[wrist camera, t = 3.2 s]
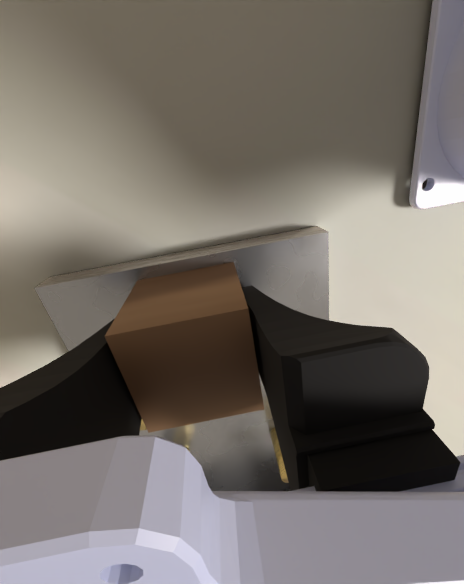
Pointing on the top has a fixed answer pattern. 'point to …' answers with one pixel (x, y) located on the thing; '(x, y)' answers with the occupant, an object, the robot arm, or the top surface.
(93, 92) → the top surface
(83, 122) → the top surface
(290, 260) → the base plate
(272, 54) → the top surface
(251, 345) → the walnut block
